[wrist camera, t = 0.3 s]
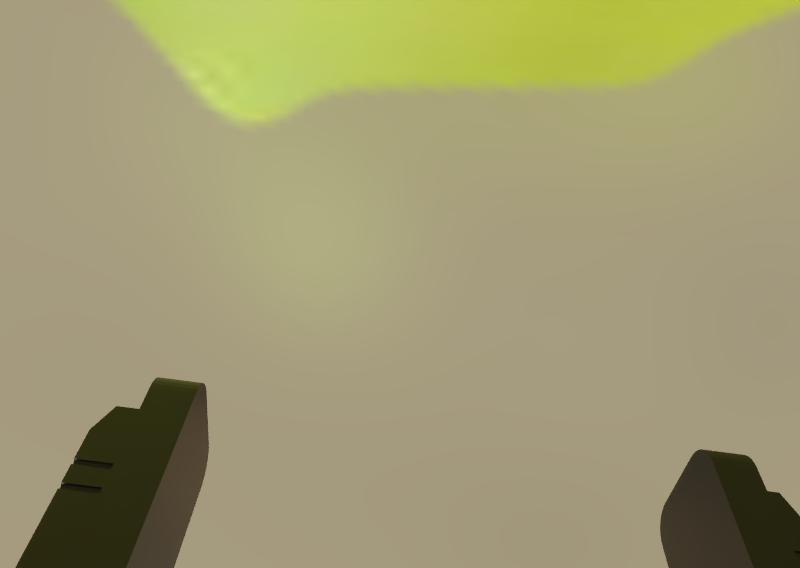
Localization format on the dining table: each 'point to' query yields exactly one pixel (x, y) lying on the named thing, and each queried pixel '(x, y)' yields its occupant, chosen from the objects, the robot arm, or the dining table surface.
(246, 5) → the dining table surface
